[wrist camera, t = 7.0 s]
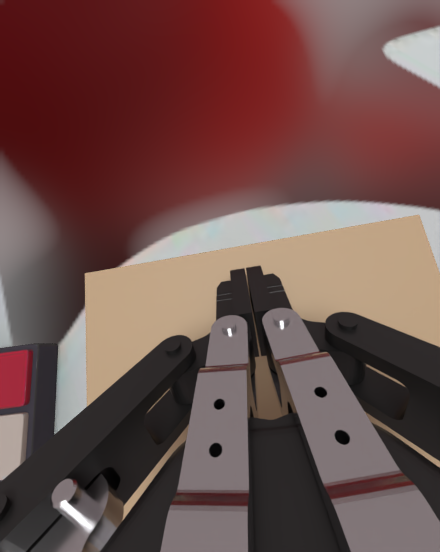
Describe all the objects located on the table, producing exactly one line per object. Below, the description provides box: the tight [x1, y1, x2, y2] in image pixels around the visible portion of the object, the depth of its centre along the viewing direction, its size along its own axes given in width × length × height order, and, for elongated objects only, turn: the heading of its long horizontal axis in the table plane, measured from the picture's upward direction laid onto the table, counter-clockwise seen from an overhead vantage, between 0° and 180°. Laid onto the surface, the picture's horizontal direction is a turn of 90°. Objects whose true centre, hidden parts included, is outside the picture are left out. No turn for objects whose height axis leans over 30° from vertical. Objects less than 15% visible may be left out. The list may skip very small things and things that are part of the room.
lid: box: [85, 215, 440, 521], centre depth 12 cm, size 16×18×1 cm
